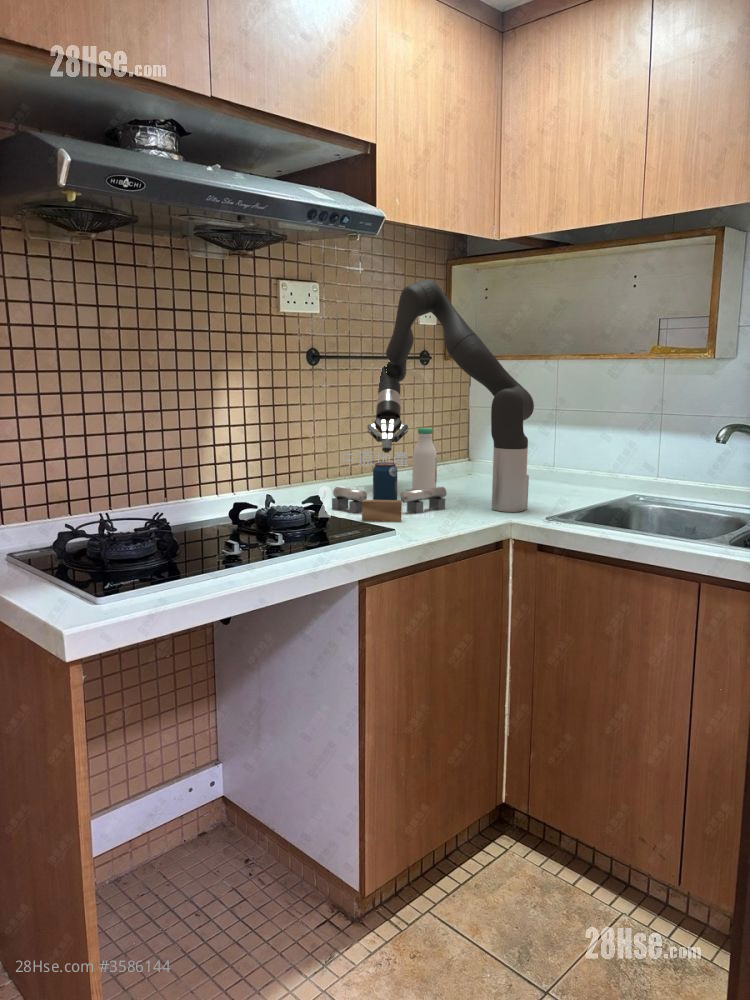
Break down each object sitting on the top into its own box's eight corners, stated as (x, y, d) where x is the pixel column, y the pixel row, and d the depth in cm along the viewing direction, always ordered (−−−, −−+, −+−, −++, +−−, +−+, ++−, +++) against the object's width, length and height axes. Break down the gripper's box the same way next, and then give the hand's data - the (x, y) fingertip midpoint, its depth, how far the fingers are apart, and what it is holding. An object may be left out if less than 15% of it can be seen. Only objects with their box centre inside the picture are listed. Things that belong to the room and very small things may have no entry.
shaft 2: (437, 506, 202) (437, 485, 201) (447, 509, 199) (447, 487, 198) (399, 512, 194) (399, 490, 193) (408, 514, 191) (408, 492, 190)
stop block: (362, 518, 185) (362, 499, 184) (401, 519, 185) (401, 500, 184) (361, 521, 182) (362, 501, 181) (401, 521, 182) (401, 502, 181)
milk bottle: (433, 493, 225) (434, 429, 222) (409, 491, 227) (410, 428, 224) (438, 489, 232) (439, 427, 229) (415, 488, 235) (416, 427, 231)
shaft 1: (368, 512, 194) (368, 490, 193) (357, 514, 191) (357, 491, 190) (342, 507, 201) (342, 486, 200) (332, 509, 198) (331, 487, 197)
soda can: (401, 506, 203) (402, 464, 201) (380, 508, 200) (380, 465, 197) (389, 502, 209) (389, 461, 207) (368, 504, 206) (368, 462, 203)
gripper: (366, 398, 219) (363, 442, 210) (409, 399, 219) (409, 443, 209) (367, 415, 226) (365, 458, 216) (409, 415, 225) (408, 459, 215)
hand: (386, 450), depth 212 cm, fingers closed
